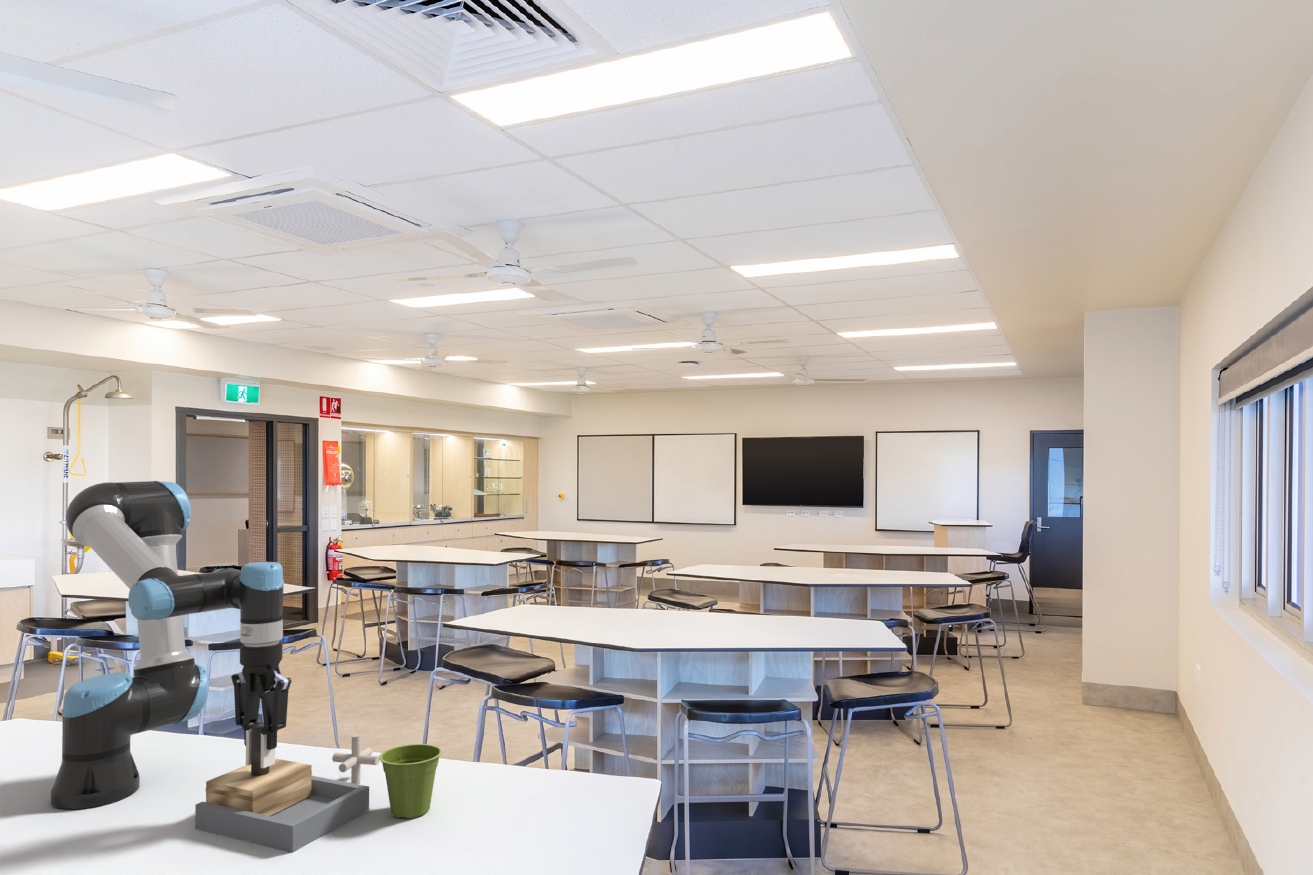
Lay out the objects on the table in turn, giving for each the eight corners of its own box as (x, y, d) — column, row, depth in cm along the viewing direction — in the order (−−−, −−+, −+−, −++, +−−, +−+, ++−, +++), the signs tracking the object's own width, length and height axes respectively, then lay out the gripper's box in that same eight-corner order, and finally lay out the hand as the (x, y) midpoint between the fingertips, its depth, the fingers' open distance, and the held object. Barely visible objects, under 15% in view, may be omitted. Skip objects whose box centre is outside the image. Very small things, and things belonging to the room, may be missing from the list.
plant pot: (454, 806, 164) (454, 748, 164) (410, 829, 153) (411, 768, 154) (410, 794, 169) (410, 739, 170) (365, 816, 159) (365, 757, 159)
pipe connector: (364, 794, 169) (364, 745, 170) (320, 790, 171) (321, 741, 172) (389, 775, 179) (389, 729, 180) (347, 772, 181) (348, 726, 182)
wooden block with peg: (205, 813, 156) (206, 733, 156) (266, 786, 169) (267, 712, 170) (252, 824, 151) (253, 741, 152) (311, 795, 164) (312, 719, 165)
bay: (195, 828, 154) (195, 804, 154) (277, 790, 171) (277, 769, 171) (292, 852, 144) (292, 826, 145) (369, 809, 162) (369, 786, 162)
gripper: (214, 643, 161) (213, 764, 160) (277, 650, 155) (276, 776, 154) (247, 635, 168) (245, 752, 167) (308, 642, 161) (307, 763, 161)
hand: (260, 763), depth 161 cm, fingers closed on wooden block with peg, 3 cm apart
